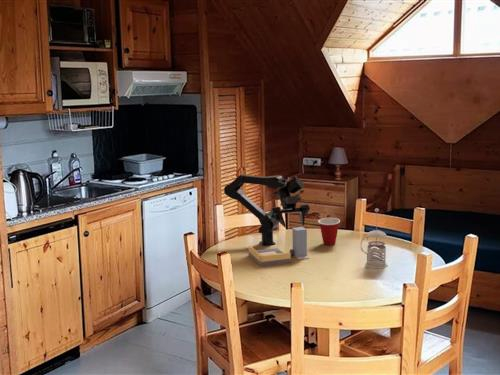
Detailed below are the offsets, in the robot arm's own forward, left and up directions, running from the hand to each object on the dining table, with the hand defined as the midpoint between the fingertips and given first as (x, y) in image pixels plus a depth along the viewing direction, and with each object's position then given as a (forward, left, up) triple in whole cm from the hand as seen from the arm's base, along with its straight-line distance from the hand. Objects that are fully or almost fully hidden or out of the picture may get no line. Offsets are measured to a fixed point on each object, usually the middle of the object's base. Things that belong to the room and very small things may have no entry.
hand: (294, 226), depth 275 cm
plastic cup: (-7, +21, -13) cm, 26 cm away
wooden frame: (+6, -15, -13) cm, 20 cm away
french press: (+31, +25, -13) cm, 41 cm away
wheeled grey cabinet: (+7, 0, -13) cm, 14 cm away
